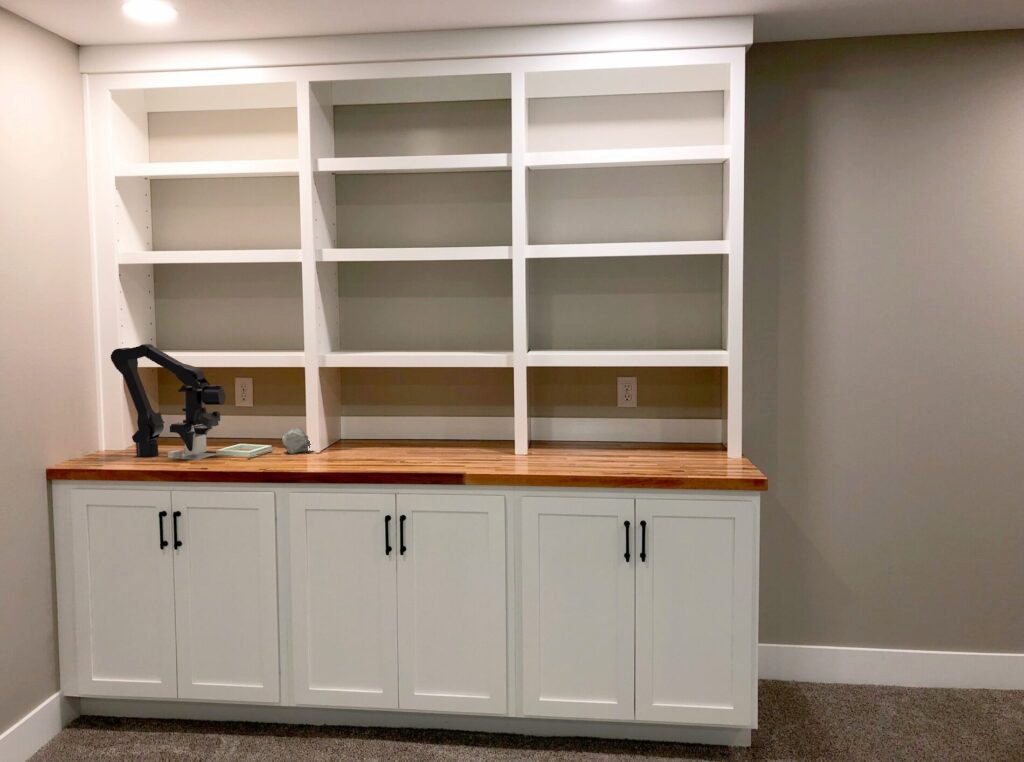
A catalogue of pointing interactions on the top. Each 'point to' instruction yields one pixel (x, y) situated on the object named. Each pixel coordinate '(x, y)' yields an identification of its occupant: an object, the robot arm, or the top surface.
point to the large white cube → (197, 444)
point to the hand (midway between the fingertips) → (195, 449)
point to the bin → (254, 451)
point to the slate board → (188, 455)
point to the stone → (296, 441)
